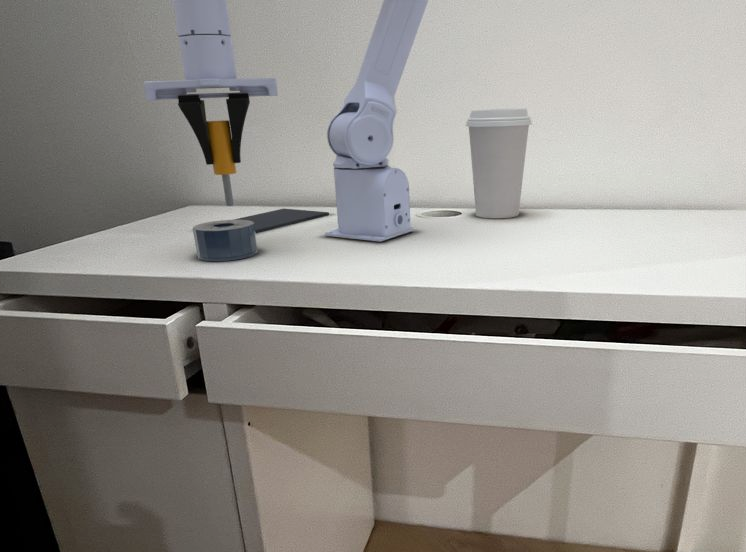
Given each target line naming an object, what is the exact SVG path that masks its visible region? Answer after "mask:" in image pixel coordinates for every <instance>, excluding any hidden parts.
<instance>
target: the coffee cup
mask: <svg viewBox="0 0 746 552" xmlns="http://www.w3.org/2000/svg"><path fill="white" fill-rule="evenodd" d="M531 125H533V121H532V119H531V116H530V115H529V113H528V109H527V108H492V109H491V108H489V109H471V111H470V114H469V117H468V118H467V120H466V123H465V127H468V135H469V145H470V146H469V147H470V157H471V169H472V171H471V173H472V184H473V195H474V197H473V198H474V207H475V216H476V217H478V218H483V219H510V218H515V217H518V216H519V215H520V208H521V207H520V206H521V197H522V189H523V178H524V169H525V161H526V152H527V143H528V135H529V128H530V126H531Z"/></svg>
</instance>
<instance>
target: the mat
mask: <svg viewBox="0 0 746 552" xmlns="http://www.w3.org/2000/svg"><path fill="white" fill-rule="evenodd" d="M329 215H330V212H329V211H318V210H306V209H293V208H279V209H276V210H271V211H265V212H262V213H257V214H253V215H252V214H251V215H247V216H244V217H239V218H233V220H249V221H252V222H254V226H255V234H257V233H261V232H265V231H266V232H267V231H269V230H274V229H277V228H281V227H286V226H290V225H294V224H297V223H301V222H306V221H310V220H313V219H318V218H322V217H325V216H329Z"/></svg>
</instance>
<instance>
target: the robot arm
mask: <svg viewBox="0 0 746 552" xmlns="http://www.w3.org/2000/svg"><path fill="white" fill-rule="evenodd" d="M171 1H172V7H173V13H174V20H175V24H176V32H177V37H178V43H179V50H180V55H181V56H180V57H181V63H182V67H183V69H182V70H183V74H184V79H180V80H178V79H177V80H159V81H157V80H155V81H143V82H142V83H143V88H144V94H145V99H146V101H162V100H178V103H177V107H178V108H179V109H180V111H181V113H182V114H183V116H184V118H185V120H187V123H188V124H189V126H190V127H191V129H192V131H193V133H194V135H195V136H196V139H197V141H198V143H199V146H200V148H201V151H202V154H203V156H204V160H205V164H206V165H208V166H209V165H213V161H212V155H211V150H210V143H209V137H208V130H207V124H206V122H207V115H206V113H207V112H206V105H205V104H206V103H205V100H204V99H220V98H222V99H223V98H226V99H225V101H226V103H225V104H226V108H227V114H228V120H229V123H230V130H231V138H232V150H233V159H234V163H235V164H240V163H241V161H242V159H241V147H242V139H243V131H244V126H245V121H246V117H247V113H248V110H249V106H250V104H251V100H250V98H251V97H278V86H277V84H278V83H277V78H276V77H258V78H257V77H251V78H238V75H237V68H236V62H235V53H234V46H233V39H232V38H233V37H232V31H231V24H230V23H231V22H230V15H229V9H228V3H227V2H228V1H227V0H171ZM428 2H429V0H383V2H382V4H381V7H380V10H379V13H378V16H377V19H376V21H375V25H374V28H373V31H372V33H371V36H370V39H369V42H368V45H367V48H366V52H365V55H364V57H363V60H362V63H361V65H360V68H359V72H358V75H357V78H356V81H355V83H354V85H353V86H352V88H351V89H350V91H349V92H348V94H347V95H346V97H345V99H344V102H343V105H342V107H341V108H340V110H339V111H338V112H337V114H335V115H334V116H333V117H332V119H331V120H330V121H329V123H328V126H327V129H326V139H327V144H328V146H329V148H330V150H331V151H332V152H333V153H334V155H336V157H335V160H334V161H333V162H332V166H333V178H334V189H335V190H334V191H335V203H336V215H337V217H336V218H337V227H338V228H335V229H332V230H328V231H325V232H324V236H326V237H334V238H343V239H353V240H362V241H363V240H364V241H371V242H384V241H387V240H390V239H392V238H393V239H394V238H396V237H399V236H402V235H405V234H408V233H411V232H413V231H415V228H414V226H411V202H410V199H411V198H410V185H409V179H408V177H407V174H406V173H405V171H403V170H402V169H401V168H397V167H391V166H390V165H389V158H387V157H388V156H389V155H390V153H391V151H392V149H393V144H394V121H395V118H396V115H397V105H396V100H395V96H396V93H397V90H398V87H399V84H400V82H401V79H402V76H403V73H404V70H405V67H406V65H407V61H408V59H409V56H410V53H411V51H412V47H413V45H414V42H415V39H416V36H417V33H418V30H419V27H420V24H421V22H422V19H423V16H424V13H425V11H426V7H427V5H428ZM201 89H202V90H203V89H205V90H206V89H229V91H230V92H212V93H211V92H209V93H207V92H206V93H197V90H201Z"/></svg>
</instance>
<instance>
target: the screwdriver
mask: <svg viewBox="0 0 746 552" xmlns="http://www.w3.org/2000/svg"><path fill="white" fill-rule="evenodd" d="M206 121H207V120H206ZM206 124H207V130H208V137H209V143H210V150H211V155H212V161H213V164H212V170H213V174H214V175H215V176H221V180H222V186H223V193H224V199H225V206H226V207H231V206H232V207H233V206H234V205H235V204H234V196H233V190H232V182H231V176H230V175H234V174H237V167H236V166H237V165H236V163H234V159H233V150H232V135H231V127H230V121H229V119H226V120H225V119H224V120H208V121H207V122H206Z"/></svg>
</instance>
